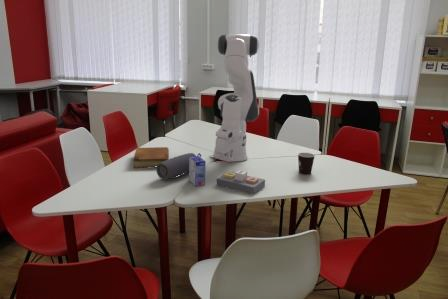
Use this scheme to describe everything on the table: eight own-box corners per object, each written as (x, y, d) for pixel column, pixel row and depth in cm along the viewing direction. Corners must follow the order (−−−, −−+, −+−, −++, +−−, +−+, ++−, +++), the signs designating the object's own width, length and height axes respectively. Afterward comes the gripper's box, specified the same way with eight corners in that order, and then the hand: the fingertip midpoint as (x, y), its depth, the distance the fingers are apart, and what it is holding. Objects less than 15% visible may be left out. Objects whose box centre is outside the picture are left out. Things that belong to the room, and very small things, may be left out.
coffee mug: (313, 176, 200) (314, 157, 198) (296, 174, 202) (297, 156, 199) (312, 169, 211) (314, 151, 208) (296, 167, 213) (298, 150, 210)
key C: (245, 188, 181) (245, 179, 179) (249, 185, 184) (250, 176, 183) (253, 190, 178) (254, 180, 177) (257, 187, 182) (258, 178, 181)
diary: (168, 168, 208) (168, 158, 206) (133, 169, 206) (133, 159, 204) (168, 156, 230) (168, 146, 228) (137, 156, 227) (136, 147, 226)
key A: (223, 183, 186) (223, 174, 185) (228, 180, 190) (228, 171, 189) (231, 185, 184) (231, 175, 183) (235, 182, 188) (236, 173, 187)
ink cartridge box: (205, 185, 184) (206, 156, 180) (194, 186, 182) (195, 157, 178) (199, 178, 193) (199, 151, 189) (188, 179, 191) (188, 152, 187)
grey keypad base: (216, 185, 184) (216, 178, 183) (228, 178, 194) (229, 171, 193) (253, 194, 174) (254, 187, 173) (264, 186, 184) (265, 179, 183)
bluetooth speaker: (185, 168, 208) (185, 150, 205) (198, 171, 203) (199, 153, 200) (155, 179, 190) (155, 160, 188) (169, 183, 185) (169, 164, 182)
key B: (234, 181, 183) (234, 172, 182) (239, 178, 186) (239, 169, 185) (242, 183, 181) (243, 173, 179) (247, 180, 184) (247, 171, 183)
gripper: (236, 125, 190) (234, 151, 194) (213, 133, 173) (212, 162, 178) (247, 127, 187) (245, 154, 191) (225, 136, 170) (223, 165, 175)
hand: (229, 158), depth 184 cm, fingers closed
